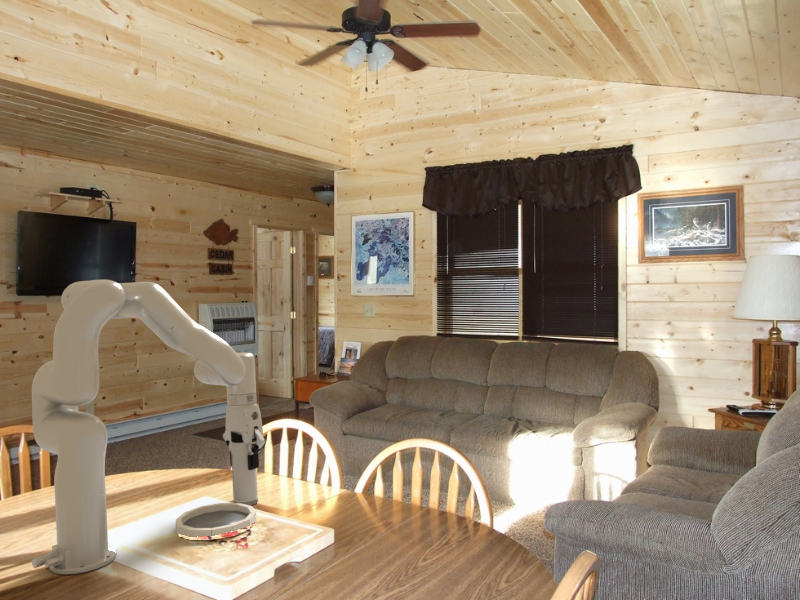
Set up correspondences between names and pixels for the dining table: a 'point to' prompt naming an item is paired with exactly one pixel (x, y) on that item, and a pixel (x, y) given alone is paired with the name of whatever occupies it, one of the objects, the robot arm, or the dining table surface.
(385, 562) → the dining table surface
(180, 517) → the round tray
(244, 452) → the travel mug
